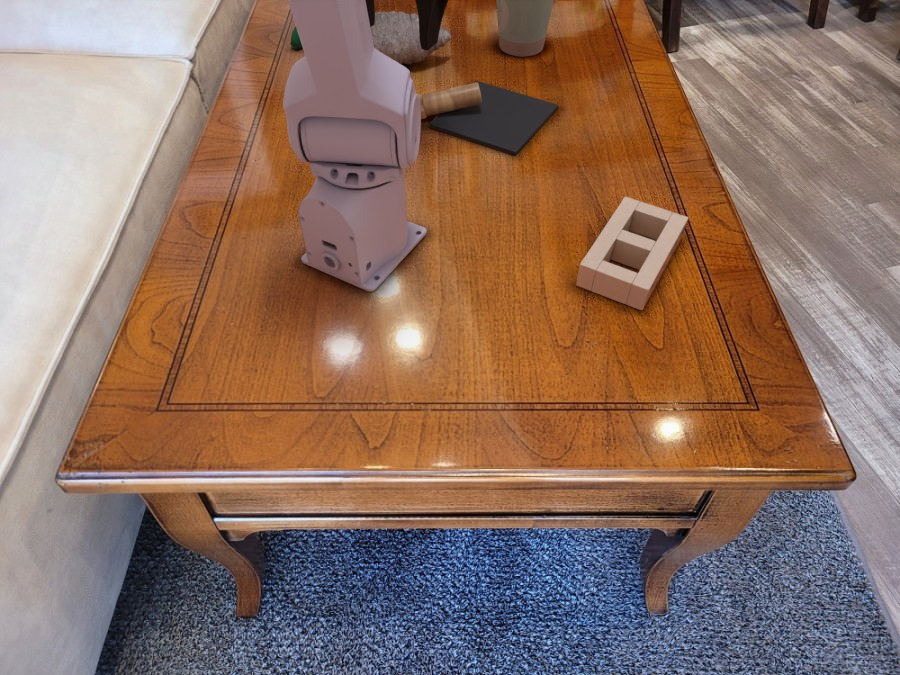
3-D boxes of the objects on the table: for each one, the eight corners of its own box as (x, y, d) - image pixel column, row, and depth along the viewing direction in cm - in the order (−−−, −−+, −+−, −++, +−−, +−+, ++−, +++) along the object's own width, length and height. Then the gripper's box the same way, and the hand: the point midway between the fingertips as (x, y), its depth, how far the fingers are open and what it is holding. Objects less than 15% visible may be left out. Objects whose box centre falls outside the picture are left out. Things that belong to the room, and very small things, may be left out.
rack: (681, 238, 64) (689, 216, 62) (642, 311, 58) (649, 290, 56) (619, 217, 66) (625, 195, 64) (575, 285, 60) (579, 264, 58)
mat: (515, 156, 73) (516, 152, 72) (428, 127, 76) (428, 123, 76) (558, 108, 79) (558, 104, 79) (475, 84, 83) (475, 80, 82)
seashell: (457, 50, 82) (429, -16, 77) (358, 98, 85) (325, 37, 80) (452, 37, 87) (426, -27, 82) (359, 82, 90) (328, 23, 85)
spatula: (481, 91, 74) (388, 112, 74) (484, 111, 76) (393, 132, 76) (474, 74, 78) (385, 95, 78) (477, 94, 79) (390, 114, 80)
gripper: (484, -119, 58) (479, 37, 68) (346, -144, 63) (361, 5, 73) (442, -95, 54) (443, 67, 64) (298, -124, 59) (321, 31, 69)
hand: (397, 36), depth 69 cm, fingers open, 7 cm apart
